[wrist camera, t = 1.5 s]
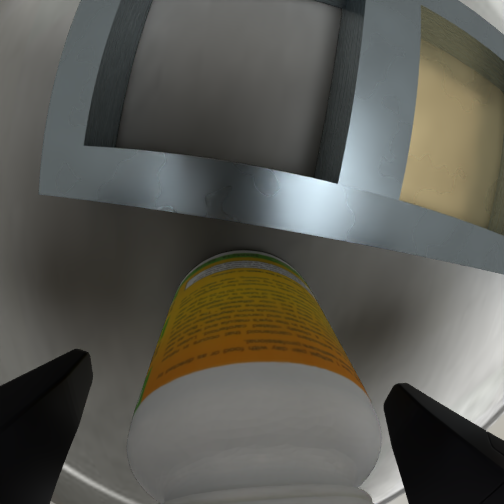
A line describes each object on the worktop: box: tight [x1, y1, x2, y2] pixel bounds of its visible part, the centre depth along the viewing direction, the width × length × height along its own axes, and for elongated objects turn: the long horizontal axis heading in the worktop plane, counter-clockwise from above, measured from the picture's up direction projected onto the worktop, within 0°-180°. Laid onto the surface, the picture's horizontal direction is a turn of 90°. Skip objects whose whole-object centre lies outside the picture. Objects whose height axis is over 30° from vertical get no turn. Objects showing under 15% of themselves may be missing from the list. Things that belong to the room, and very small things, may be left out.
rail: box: [39, 0, 504, 274], centre depth 9 cm, size 10×28×2 cm, turn 79°
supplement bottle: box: [127, 250, 382, 504], centre depth 7 cm, size 5×5×10 cm
